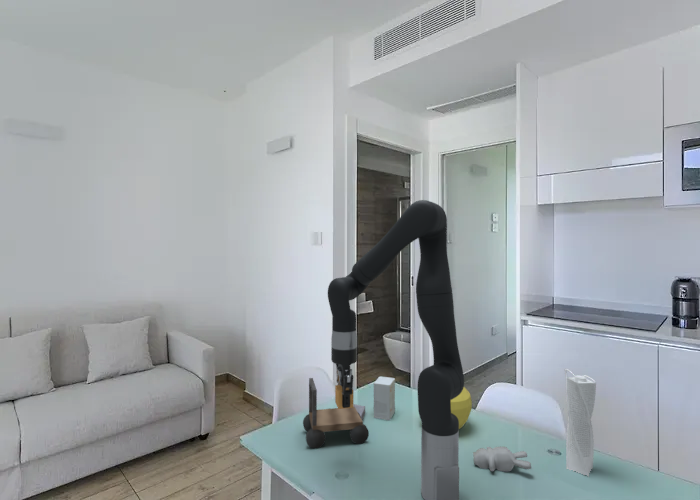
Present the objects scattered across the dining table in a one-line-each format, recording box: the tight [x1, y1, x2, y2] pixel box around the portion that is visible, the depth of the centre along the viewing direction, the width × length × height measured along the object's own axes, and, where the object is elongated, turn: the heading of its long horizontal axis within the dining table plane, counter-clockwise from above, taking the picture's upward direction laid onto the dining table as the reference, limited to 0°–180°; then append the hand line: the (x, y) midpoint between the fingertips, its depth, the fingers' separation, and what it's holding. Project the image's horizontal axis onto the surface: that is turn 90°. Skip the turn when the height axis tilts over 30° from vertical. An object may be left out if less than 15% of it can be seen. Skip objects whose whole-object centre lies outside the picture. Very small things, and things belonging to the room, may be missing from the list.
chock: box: [334, 384, 354, 409], centre depth 115 cm, size 5×4×5 cm
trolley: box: [302, 377, 370, 449], centre depth 129 cm, size 20×12×18 cm, turn 102°
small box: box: [373, 376, 396, 421], centre depth 147 cm, size 8×6×13 cm
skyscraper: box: [564, 368, 597, 478], centre depth 112 cm, size 8×8×28 cm
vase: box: [451, 386, 473, 430], centre depth 137 cm, size 18×18×30 cm
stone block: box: [353, 403, 366, 421], centre depth 144 cm, size 12×5×10 cm
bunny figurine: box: [472, 446, 532, 472], centre depth 112 cm, size 10×5×15 cm
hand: (344, 403), depth 115 cm, fingers closed on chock, 5 cm apart
